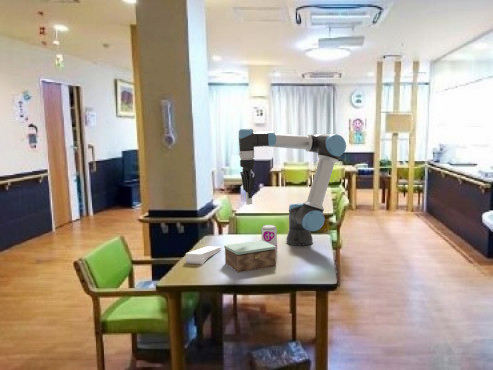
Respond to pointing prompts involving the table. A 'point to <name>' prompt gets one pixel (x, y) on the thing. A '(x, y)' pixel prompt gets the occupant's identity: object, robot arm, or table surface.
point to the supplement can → (269, 234)
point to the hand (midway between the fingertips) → (249, 204)
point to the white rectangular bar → (201, 254)
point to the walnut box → (250, 260)
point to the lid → (250, 247)
